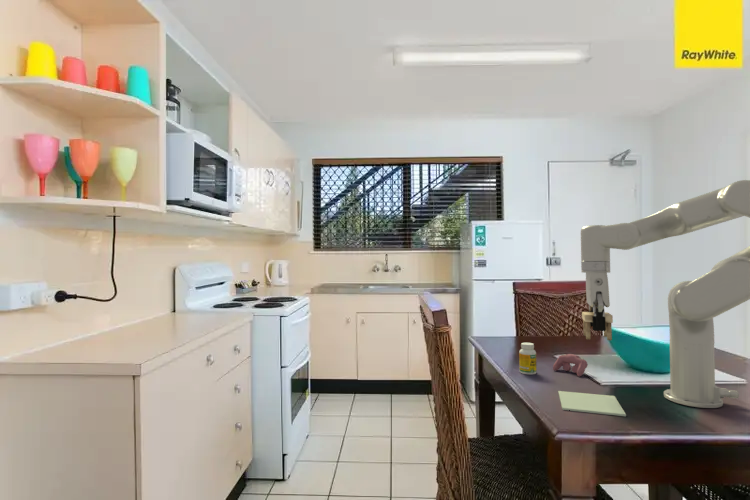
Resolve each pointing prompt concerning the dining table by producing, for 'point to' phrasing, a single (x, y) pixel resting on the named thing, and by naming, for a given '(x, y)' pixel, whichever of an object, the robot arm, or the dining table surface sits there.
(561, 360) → the video game controller
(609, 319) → the stool
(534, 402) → the dining table surface
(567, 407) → the mat
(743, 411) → the dining table surface
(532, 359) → the supplement bottle
